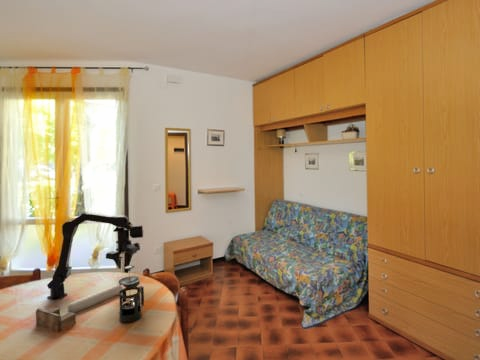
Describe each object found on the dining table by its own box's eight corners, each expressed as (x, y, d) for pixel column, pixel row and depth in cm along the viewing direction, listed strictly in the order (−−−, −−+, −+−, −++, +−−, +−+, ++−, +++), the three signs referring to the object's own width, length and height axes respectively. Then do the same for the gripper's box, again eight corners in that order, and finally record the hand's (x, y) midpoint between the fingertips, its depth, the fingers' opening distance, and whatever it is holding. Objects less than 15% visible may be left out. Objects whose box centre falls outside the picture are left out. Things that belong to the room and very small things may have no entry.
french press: (125, 327, 110) (124, 272, 109) (113, 320, 116) (111, 267, 115) (149, 314, 120) (148, 263, 119) (136, 308, 125) (135, 260, 124)
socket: (36, 324, 113) (35, 309, 112) (54, 315, 119) (54, 301, 119) (57, 332, 107) (57, 316, 107) (75, 322, 114) (75, 307, 114)
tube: (71, 308, 119) (123, 287, 140) (66, 301, 122) (117, 281, 142) (70, 318, 120) (121, 295, 141) (64, 311, 123) (115, 290, 143)
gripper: (120, 244, 134) (121, 275, 135) (146, 236, 151) (147, 263, 152) (104, 242, 139) (105, 272, 139) (132, 234, 156) (132, 260, 156)
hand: (124, 266), depth 146 cm, fingers open, 6 cm apart
